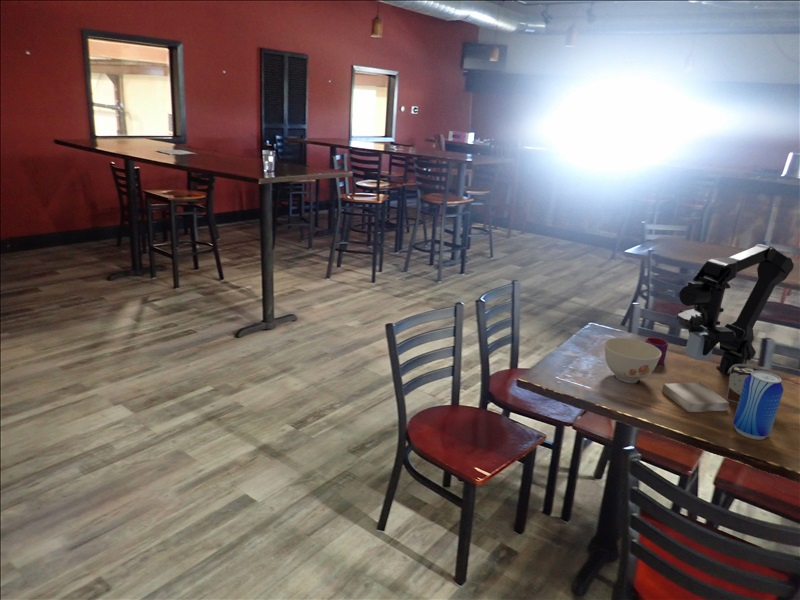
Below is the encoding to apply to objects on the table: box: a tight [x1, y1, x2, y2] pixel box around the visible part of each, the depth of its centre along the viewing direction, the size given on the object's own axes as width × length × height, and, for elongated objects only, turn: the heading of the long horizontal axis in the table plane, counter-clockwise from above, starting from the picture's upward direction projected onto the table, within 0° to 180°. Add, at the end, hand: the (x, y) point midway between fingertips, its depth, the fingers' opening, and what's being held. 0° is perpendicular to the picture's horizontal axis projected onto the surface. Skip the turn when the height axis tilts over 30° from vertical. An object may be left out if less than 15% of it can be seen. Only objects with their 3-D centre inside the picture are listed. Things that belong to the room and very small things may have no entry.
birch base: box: [661, 382, 730, 413], centre depth 164 cm, size 12×12×2 cm
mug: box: [645, 336, 669, 366], centre depth 191 cm, size 7×10×7 cm
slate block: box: [684, 331, 714, 361], centre depth 175 cm, size 5×5×7 cm
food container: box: [726, 363, 775, 404], centre depth 165 cm, size 12×6×10 cm, turn 59°
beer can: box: [732, 371, 784, 441], centre depth 147 cm, size 8×8×16 cm
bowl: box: [603, 337, 661, 384], centre depth 175 cm, size 16×16×10 cm
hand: (698, 351), depth 176 cm, fingers closed on slate block, 5 cm apart
